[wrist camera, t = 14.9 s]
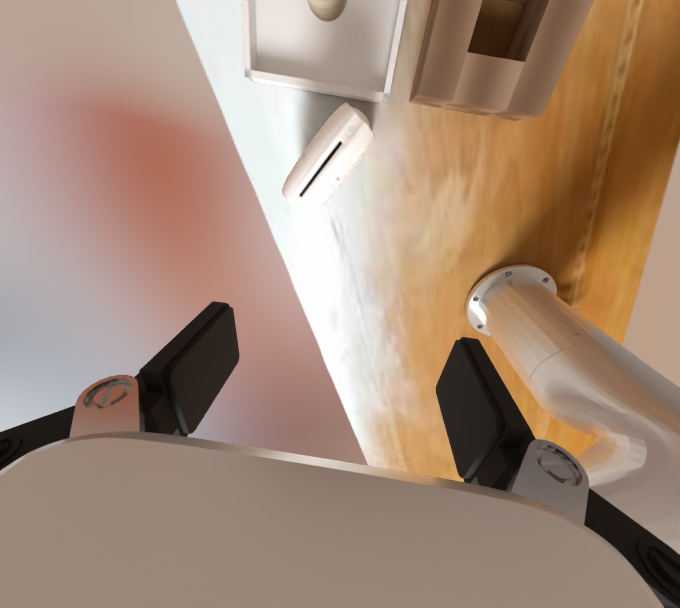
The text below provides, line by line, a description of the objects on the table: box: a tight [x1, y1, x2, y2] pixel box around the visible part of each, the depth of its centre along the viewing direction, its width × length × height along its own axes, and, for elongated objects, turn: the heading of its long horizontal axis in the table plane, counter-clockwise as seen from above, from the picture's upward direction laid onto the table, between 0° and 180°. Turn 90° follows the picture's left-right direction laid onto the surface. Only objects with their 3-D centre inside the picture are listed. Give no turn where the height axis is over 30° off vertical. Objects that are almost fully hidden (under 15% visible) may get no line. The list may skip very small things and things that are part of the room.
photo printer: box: [282, 102, 375, 216], centre depth 27 cm, size 10×4×12 cm, turn 138°
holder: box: [409, 0, 594, 121], centre depth 23 cm, size 12×12×5 cm
